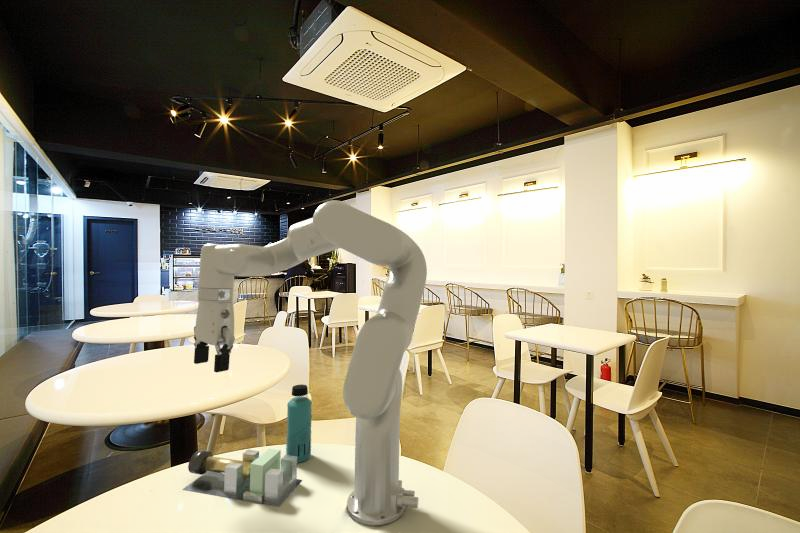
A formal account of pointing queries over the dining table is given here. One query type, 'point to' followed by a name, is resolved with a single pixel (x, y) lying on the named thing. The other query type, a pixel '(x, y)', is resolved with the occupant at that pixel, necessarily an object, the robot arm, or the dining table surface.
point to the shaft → (213, 464)
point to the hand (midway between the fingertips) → (210, 366)
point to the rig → (238, 487)
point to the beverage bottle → (299, 424)
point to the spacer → (263, 469)
